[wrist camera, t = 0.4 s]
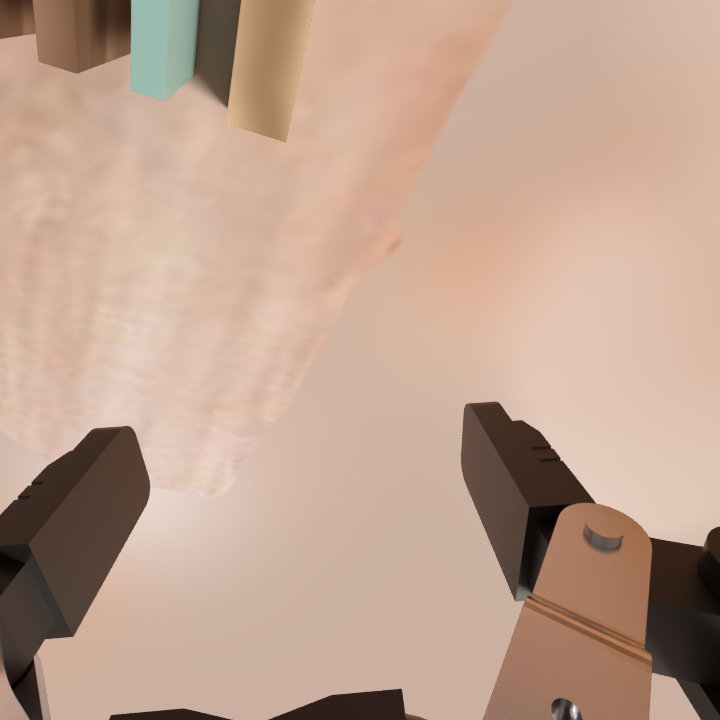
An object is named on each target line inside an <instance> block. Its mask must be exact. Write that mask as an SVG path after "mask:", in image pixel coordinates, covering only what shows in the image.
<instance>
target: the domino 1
mask: <svg viewBox="0 0 720 720" xmlns="http://www.w3.org/2000/svg"><path fill="white" fill-rule="evenodd" d="M29 34H36V28H35V18H34V8H33V0H0V39H2V38H9V37H15V36H22V35H29Z"/></svg>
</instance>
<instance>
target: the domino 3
mask: <svg viewBox="0 0 720 720" xmlns="http://www.w3.org/2000/svg"><path fill="white" fill-rule="evenodd" d="M199 9H200V0H131V91H134V92H137V93H140V94H144V95H147V96H150V97H153V98H156V99H159V100H163V101H166V100H167V99H168V98H169V97H170V96H171V95H172V94H173V93H175V92H176V91H177V90H178V89H179V88H180V87H181V86H182V85H183V84H185V83H186V82H187V81H188V80H189V79H190V78H191V77H192V76H194V71H195V58H196V46H197V34H198V21H199Z"/></svg>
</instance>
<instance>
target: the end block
mask: <svg viewBox="0 0 720 720" xmlns="http://www.w3.org/2000/svg"><path fill="white" fill-rule="evenodd" d="M314 3H315V0H241V7H240V15H239V23H238V31H237V39H236V47H235V55H234V63H233V71H232V79H231V87H230V95H229V103H228V111H227V119H226V124H229V125H232V126H235V127H238V128H242V129H245V130H248V131H251V132H254V133H258V134H261V135H264V136H267V137H270V138H274V139H277V140H280V141H283V142H286V140H287V135H288V130H289V125H290V121H291V116H292V111H293V106H294V101H295V96H296V91H297V86H298V81H299V77H300V72H301V67H302V62H303V57H304V52H305V47H306V42H307V38H308V33H309V28H310V23H311V18H312V13H313V8H314Z"/></svg>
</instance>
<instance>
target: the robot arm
mask: <svg viewBox="0 0 720 720" xmlns="http://www.w3.org/2000/svg"><path fill="white" fill-rule="evenodd" d="M461 465H462V472H463V477H464V480H465V483H466V486H467V488H468V490H469V493H470V495H471V497H472V500H473V502H474V505H475V507H476V509H477V512H478V514H479V516H480V519H481V521H482V524H483V526H484V528H485V531H486V533H487V535H488V538H489V540H490V543H491V545H492V547H493V550H494V552H495V554H496V557H497V559H498V562H499V564H500V566H501V568H502V571H503V573H504V575H505V578H506V581H507V583H508V585H509V588H510V590H511V592H512V595H513V597H514V600H515V601H525V602H524V605H523V607H522V610H521V613H520V616H519V618H518V621H517V624H516V627H515V630H514V633H513V635H512V638H511V641H510V644H509V647H508V650H507V653H506V655H505V658H504V661H503V664H502V667H501V669H500V673H499V675H498V678H497V681H496V684H495V686H494V689H493V692H492V695H491V698H490V701H489V704H488V706H487V709H486V712H485V715H484V718H483V720H649V710H650V694H651V677H652V673H656V674H660V675H664V676H668V677H672V678H676V680H677V681H678V683H679V684H680V686H681V688H682V689H683V691H684V693H685V694H686V696H687V698H688V699H689V701H690V702H691V704H692V705H693V707H694V709H695V711H696V712H697V714H698V715H699V717H700V719H701V720H720V527H716V528H714V529H713V530H711V531H710V532H709V534H708V536H707V539H706V541H705V544H704V547H701V546H695V545H689V544H683V543H677V542H671V541H665V540H660V539H655V538H650V537H649V536H648V535H647V533H646V532H645V531H644V530H643V528H642V527H641V526H640V525H639V524H638V523H637V522H635V521H634V520H633V519H632V518H630V517H629V516H627V515H625V514H624V513H622V512H620V511H617V510H615V509H613V508H610V507H607V506H604V505H600V504H596V503H595V501H594V500H593V499H592V498H591V496H590V495H589V494H588V493H587V491H586V490H585V489H584V487H583V486H582V485H581V484H580V482H579V481H578V480H577V479H576V477H575V476H574V475H573V473H572V472H571V471H570V469H569V468H568V467H567V466H566V465H565V463H564V462H563V461H561V460H560V457H559V456H558V454H557V453H556V452H555V450H554V449H551V445H550V444H549V443H548V441H547V440H546V439H545V438H544V436H543V435H542V434H541V433H540V432H539V431H538V430H536V429H535V428H533V427H531V426H530V425H528V424H527V423H525V422H524V421H522V420H520V421H512V420H511V419H510V417H509V416H508V415H507V413H506V412H505V410H504V409H503V407H502V406H501V405H500V404H499V403H498V402H485V403H470V404H466V406H465V408H464V419H463V434H462V450H461ZM149 493H150V481H149V476H148V473H147V470H146V466H145V463H144V460H143V457H142V453H141V450H140V447H139V443H138V440H137V437H136V434H135V432H134V430H133V429H132V428H131V427H129V426H122V427H107V428H95V429H93V430H91V431H90V432H89V433H88V434H87V436H86V437H85V438H84V439H83V440H82V441H81V442H80V443H79V444H78V445H77V446H76V447H75V449H74V450H73V451H69V452H68V453H66V454H65V455H63V456H62V457H60V458H59V459H57V460H56V461H54V462H53V463H51V464H49V465H48V466H47V467H46V468H45V469H44V470H43V471H42V472H41V473H40V474H39V475H38V476H37V477H36V478H35V479H34V480H33V481H32V485H31V486H28V487H27V488H26V489H25V490H24V491H23V492H22V493H21V494H20V495H19V496H18V500H14V501H13V503H11V504H10V505H9V506H8V507H7V509H5V510H4V512H3V513H2V514H1V515H0V720H51V718H50V712H49V706H48V700H47V694H46V688H45V682H44V676H43V670H42V664H41V661H40V659H39V657H38V655H37V651H38V649H39V648H40V646H41V645H42V643H43V641H44V640H45V639H52V638H63V637H73V636H74V634H75V633H76V631H77V629H78V627H79V625H80V623H81V622H82V620H83V618H84V616H85V615H86V613H87V611H88V609H89V607H90V606H91V604H92V602H93V600H94V598H95V597H96V595H97V593H98V591H99V589H100V588H101V586H102V584H103V582H104V580H105V579H106V577H107V575H108V573H109V571H110V569H111V568H112V566H113V564H114V562H115V561H116V559H117V557H118V555H119V553H120V552H121V550H122V548H123V546H124V544H125V542H126V541H127V539H128V537H129V535H130V534H131V532H132V530H133V528H134V526H135V525H136V523H137V521H138V519H139V517H140V516H141V514H142V512H143V510H144V508H145V507H146V504H147V502H148V499H149ZM109 720H231V719H226V718H222V717H218V716H214V715H209V714H205V713H201V712H196V711H192V710H188V709H173V710H163V711H152V712H140V713H129V714H118V715H111V717H110V719H109ZM269 720H426V719H424V718H421V717H417V716H414V715H409V714H405V710H404V702H403V694H402V689H395V690H383V691H372V692H361V693H351V694H340V695H331V696H328V697H326V698H323V699H320V700H318V701H315V702H313V703H310V704H308V705H305V706H303V707H300V708H297V709H295V710H292V711H290V712H287V713H284V714H282V715H280V716H277V717H274V718H272V719H269Z"/></svg>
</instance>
